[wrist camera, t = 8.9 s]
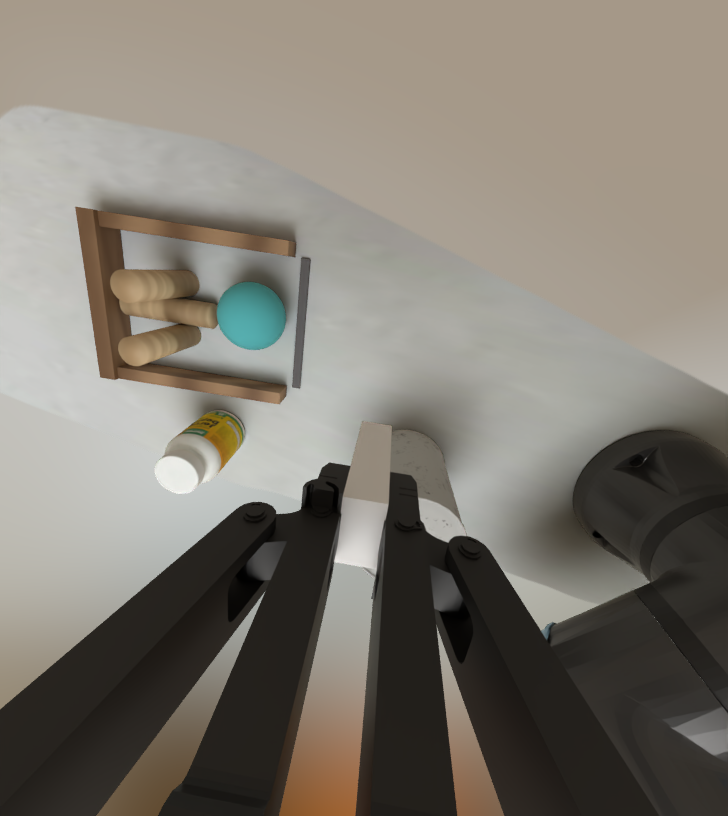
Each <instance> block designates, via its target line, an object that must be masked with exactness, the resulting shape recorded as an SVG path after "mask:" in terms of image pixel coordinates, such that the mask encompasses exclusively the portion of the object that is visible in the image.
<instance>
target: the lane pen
mask: <svg viewBox="0 0 728 816" xmlns="http://www.w3.org/2000/svg"><path fill="white" fill-rule="evenodd" d="M75 208H76V215H77V221H78V228H79V235H80V242H81V249H82V256H83V262H84V269H85V276H86V283H87V290H88V296H89V303H90V310H91V317H92V324H93V330H94V337H95V344H96V351H97V358H98V364H99V371H100V377H101V378H107V379H114V380H116V379H118V378H120V379H126V380H132V381H138V382H144V383H151V384H157V385H163V386H169V387H175V388H182V389H188V390H194V391H200V392H206V393H212V394H219V395H225V396H231V397H237V398H243V399H250V400H256V401H262V402H268V403H274V404H280V403H281V402H282V400H283V399H284V398H285V397H286V389H287V386H285V385H279V384H273V383H267V382H260V381H254V380H248V379H242V378H236V377H229V376H223V375H217V374H211V373H205V372H198V371H192V370H186V369H180V368H174V367H167V366H161V365H155V364H149V363H146V364H144V365H141V366H132V365H129V364H128V363H126V362H125V361H124V360H123V359H122V358H121V356H120V354H119V351H118V345H119V342H120V341H121V340H122V339H123V338H125V337H129V336H131V327H130V318H129V315H126V314H124V313H123V311H122V310H121V308H120V303H119V299H118V298H117V297H116V296H115V295H114V293H113V291H112V289H111V286H110V279H111V276H112V274H113V273H114V272H115V271H117V270H121V269H124V261H123V252H122V243H121V233H120V229H121V230H127V231H133V232H140V233H146V234H152V235H159V236H165V237H171V238H178V239H184V240H190V241H197V242H203V243H209V244H216V245H222V246H228V247H235V248H241V249H247V250H254V251H260V252H266V253H273V254H279V255H285V256H292V257H295V251H296V243H294V242H291V241H288V240H281V239H275V238H269V237H262V236H256V235H250V234H243V233H237V232H231V231H224V230H218V229H212V228H205V227H199V226H193V225H186V224H180V223H173V222H167V221H161V220H154V219H148V218H142V217H135V216H129V215H123V214H116V213H110V212H104V211H97V210H93V209H86V208H80V207H75Z"/></svg>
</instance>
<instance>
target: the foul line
mask: <svg viewBox="0 0 728 816" xmlns="http://www.w3.org/2000/svg"><path fill="white" fill-rule="evenodd" d="M309 271H310V259H304V258H301V272H300V286H299V300H298V313H297V327H296V341H295V355H294V369H293V383H292V387H294V388H300V382H301V370H302V357H303V345H304V333H305V320H306V308H307V295H308V283H309Z"/></svg>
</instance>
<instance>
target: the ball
mask: <svg viewBox="0 0 728 816" xmlns="http://www.w3.org/2000/svg"><path fill="white" fill-rule="evenodd" d="M217 320H218V324H219V326H220V329H221V331H222V332H223V334H224V335H225V336H226V337H227V338H228V339H229V340H230V341H231V342H232V343H234V344H235V345H237V346H239V347H241V348H244V349H249V350H259V349H264V348H266V347H269V346H271V345H272V344H274V343H275V342H276V341H277V340H278V339H279V338H280V336H281V335H282V333H283V331H284V328H285V323H286V314H285V309H284V306H283V304H282V302H281V300H280V299H279V297H278V296H277V295H276V294H275V293H274V292H273V291H272V290H271V289H269V288H268V287H266V286H264V285H262V284H259V283H255V282H242V283H238V284H236V285H233V286H232V287H230V288H229V289H228V290H226V291H225V292H224V294H223V295H222V297H221V298H220V300H219V303H218V306H217Z"/></svg>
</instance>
